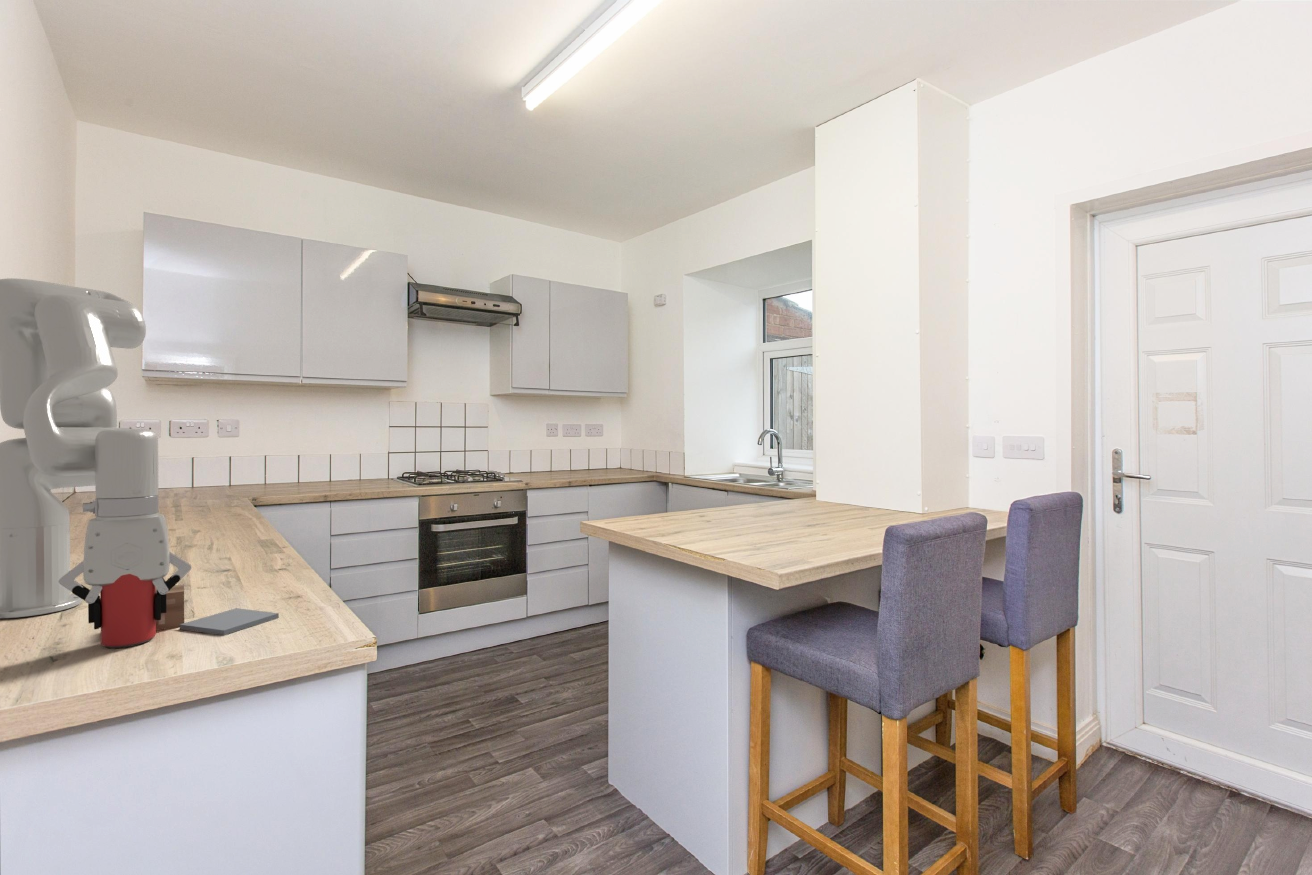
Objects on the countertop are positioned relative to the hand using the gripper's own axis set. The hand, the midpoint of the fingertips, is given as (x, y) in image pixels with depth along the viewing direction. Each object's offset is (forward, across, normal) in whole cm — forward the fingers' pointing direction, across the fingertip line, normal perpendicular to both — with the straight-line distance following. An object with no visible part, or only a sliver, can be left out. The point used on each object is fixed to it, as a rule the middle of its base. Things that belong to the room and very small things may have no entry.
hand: (128, 621), depth 98 cm
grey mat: (+3, +13, +2) cm, 14 cm away
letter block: (+3, +4, +8) cm, 10 cm away
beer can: (+3, 0, 0) cm, 3 cm away
